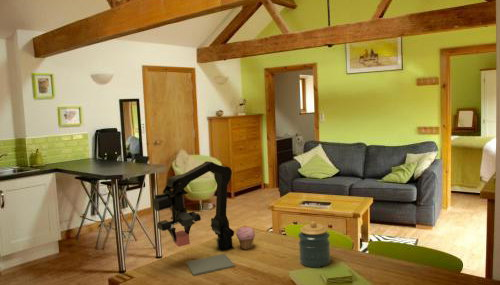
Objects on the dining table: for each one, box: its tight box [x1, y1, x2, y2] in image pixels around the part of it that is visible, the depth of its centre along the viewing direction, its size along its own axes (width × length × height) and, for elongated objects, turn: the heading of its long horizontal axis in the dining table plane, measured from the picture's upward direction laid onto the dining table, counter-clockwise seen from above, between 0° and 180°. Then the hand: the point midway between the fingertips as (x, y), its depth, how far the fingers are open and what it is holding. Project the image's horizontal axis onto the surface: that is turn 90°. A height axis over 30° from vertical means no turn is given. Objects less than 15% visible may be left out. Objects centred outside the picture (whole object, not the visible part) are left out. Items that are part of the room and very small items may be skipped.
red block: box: [172, 229, 190, 247], centre depth 180 cm, size 5×8×4 cm, turn 27°
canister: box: [297, 220, 332, 268], centre depth 173 cm, size 13×13×18 cm
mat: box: [185, 253, 236, 277], centre depth 177 cm, size 18×14×1 cm
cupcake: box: [236, 226, 256, 250], centre depth 194 cm, size 9×9×10 cm
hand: (181, 239), depth 181 cm, fingers closed on red block, 5 cm apart
